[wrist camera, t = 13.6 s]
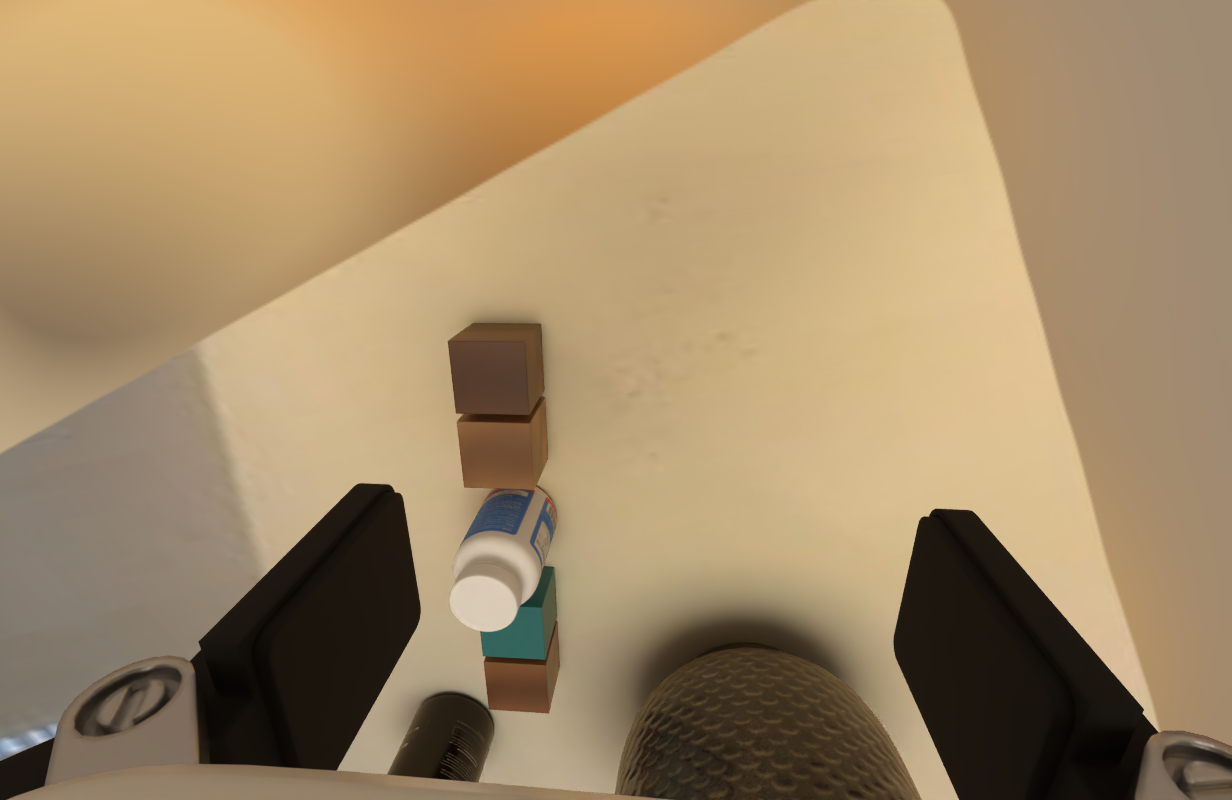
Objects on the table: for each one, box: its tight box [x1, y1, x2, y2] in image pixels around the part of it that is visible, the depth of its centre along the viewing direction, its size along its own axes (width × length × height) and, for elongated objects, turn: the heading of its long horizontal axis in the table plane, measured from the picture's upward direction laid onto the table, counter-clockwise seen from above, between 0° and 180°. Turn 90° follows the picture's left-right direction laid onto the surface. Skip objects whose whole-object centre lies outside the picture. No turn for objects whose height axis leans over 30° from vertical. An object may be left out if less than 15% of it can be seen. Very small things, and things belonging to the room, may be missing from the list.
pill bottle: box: [449, 487, 556, 632], centre depth 38 cm, size 6×5×10 cm
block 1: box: [448, 323, 544, 415], centre depth 36 cm, size 4×4×4 cm
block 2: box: [457, 398, 548, 490], centre depth 38 cm, size 4×4×4 cm
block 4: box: [484, 621, 560, 713], centre depth 44 cm, size 4×4×4 cm
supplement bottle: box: [387, 695, 493, 782], centre depth 45 cm, size 7×7×12 cm
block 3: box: [480, 567, 557, 660], centre depth 43 cm, size 4×4×4 cm
